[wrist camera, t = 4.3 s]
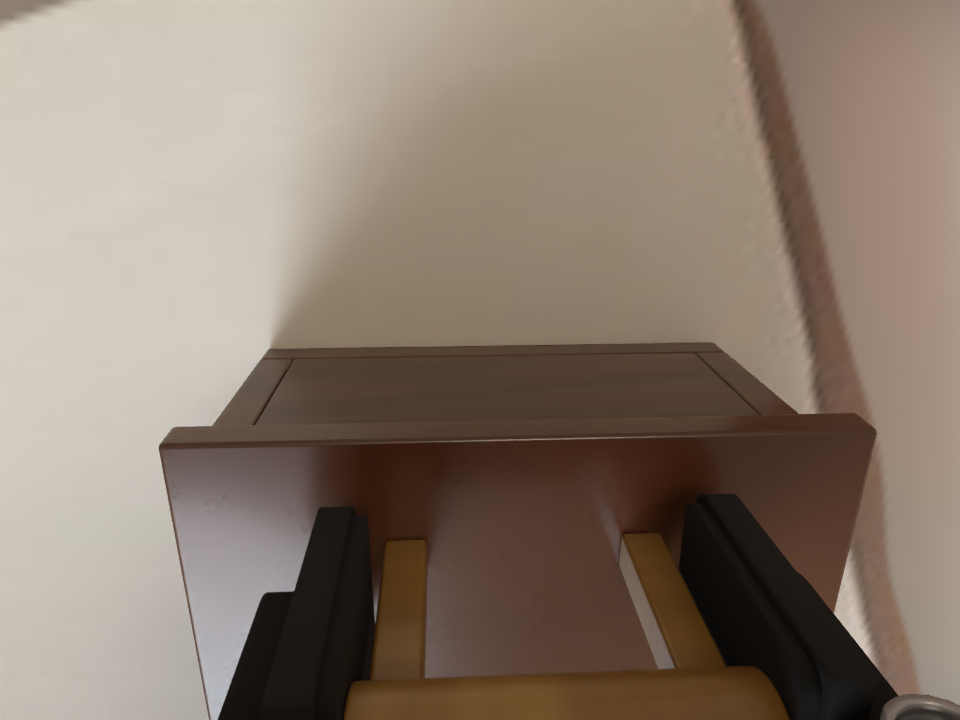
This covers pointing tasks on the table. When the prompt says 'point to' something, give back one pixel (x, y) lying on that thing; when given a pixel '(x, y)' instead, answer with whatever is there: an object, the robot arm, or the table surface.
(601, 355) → the wooden chest
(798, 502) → the cover
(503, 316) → the table surface
